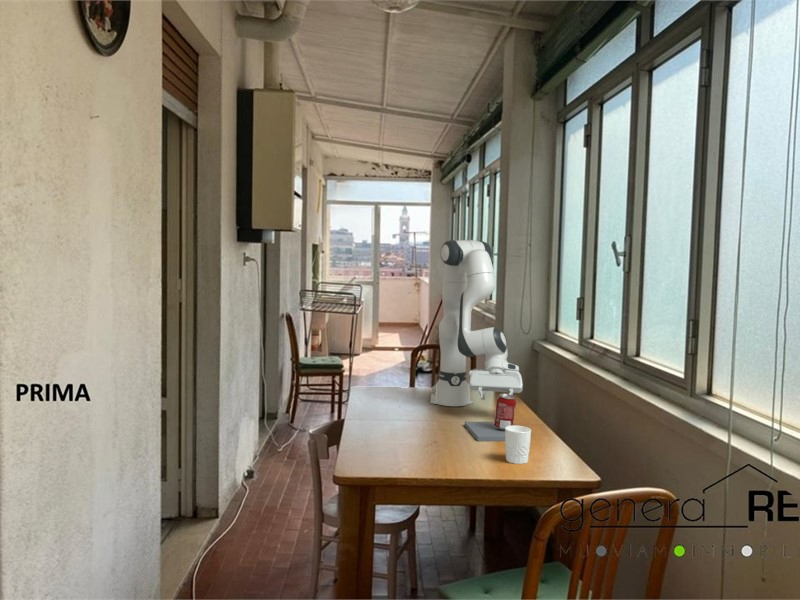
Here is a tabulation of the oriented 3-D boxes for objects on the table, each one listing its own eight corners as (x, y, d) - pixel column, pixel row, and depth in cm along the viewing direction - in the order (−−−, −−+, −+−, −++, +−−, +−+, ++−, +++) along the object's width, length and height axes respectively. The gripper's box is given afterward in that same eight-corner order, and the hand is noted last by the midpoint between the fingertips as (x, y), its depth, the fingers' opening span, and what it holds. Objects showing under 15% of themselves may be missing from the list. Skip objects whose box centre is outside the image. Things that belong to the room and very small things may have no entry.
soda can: (511, 432, 215) (516, 400, 213) (492, 429, 216) (497, 396, 215) (512, 427, 221) (517, 395, 220) (493, 423, 223) (498, 392, 221)
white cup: (501, 456, 192) (502, 425, 191) (525, 456, 192) (527, 425, 192) (507, 464, 184) (508, 432, 183) (533, 464, 185) (534, 432, 184)
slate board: (464, 425, 228) (464, 421, 228) (510, 425, 230) (511, 421, 230) (477, 441, 208) (478, 436, 208) (528, 440, 210) (528, 436, 210)
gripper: (469, 363, 238) (467, 393, 229) (522, 366, 235) (523, 396, 226) (469, 373, 242) (467, 402, 233) (521, 375, 239) (522, 405, 230)
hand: (495, 399), depth 229 cm, fingers open, 8 cm apart
